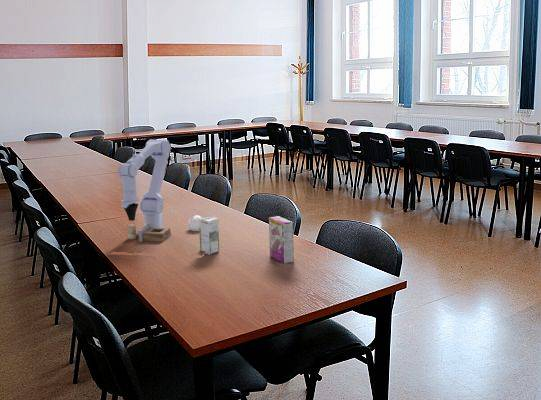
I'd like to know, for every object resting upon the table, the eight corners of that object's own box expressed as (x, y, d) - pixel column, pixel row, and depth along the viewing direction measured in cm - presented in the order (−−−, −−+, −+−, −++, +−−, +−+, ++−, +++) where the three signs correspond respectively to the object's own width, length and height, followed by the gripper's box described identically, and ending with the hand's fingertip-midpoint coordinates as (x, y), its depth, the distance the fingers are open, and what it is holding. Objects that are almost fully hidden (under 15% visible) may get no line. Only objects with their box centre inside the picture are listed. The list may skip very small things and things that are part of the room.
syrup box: (209, 249, 235) (208, 216, 232) (220, 251, 231) (218, 218, 228) (200, 252, 231) (198, 218, 227) (210, 255, 227) (208, 220, 224)
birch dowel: (130, 239, 252) (129, 224, 251) (137, 239, 252) (136, 224, 250) (127, 241, 249) (125, 226, 247) (134, 241, 248) (133, 226, 247)
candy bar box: (269, 256, 223) (268, 217, 220) (279, 254, 226) (278, 215, 222) (283, 264, 214) (282, 223, 210) (294, 262, 216) (293, 221, 213)
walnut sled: (151, 234, 255) (151, 227, 254) (170, 235, 253) (170, 228, 252) (143, 241, 245) (142, 233, 244) (162, 241, 244) (162, 233, 243)
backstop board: (147, 236, 256) (146, 224, 255) (190, 237, 252) (189, 225, 251) (137, 243, 245) (136, 230, 244) (182, 245, 242) (181, 231, 240)
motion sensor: (186, 233, 259) (185, 217, 258) (191, 229, 267) (190, 213, 265) (202, 234, 258) (202, 218, 256) (207, 229, 265) (206, 214, 264)
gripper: (127, 187, 253) (129, 216, 256) (114, 193, 239) (116, 224, 242) (142, 187, 252) (144, 216, 255) (129, 193, 238) (132, 224, 241)
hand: (131, 220), depth 248 cm, fingers closed
